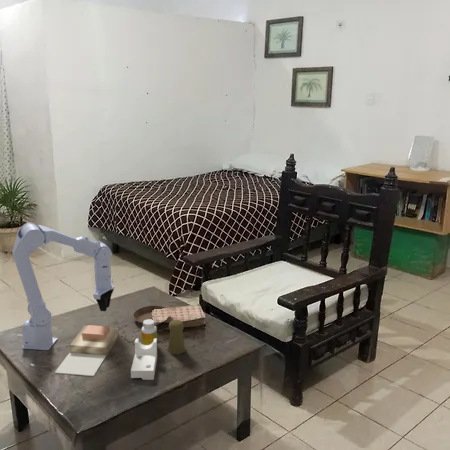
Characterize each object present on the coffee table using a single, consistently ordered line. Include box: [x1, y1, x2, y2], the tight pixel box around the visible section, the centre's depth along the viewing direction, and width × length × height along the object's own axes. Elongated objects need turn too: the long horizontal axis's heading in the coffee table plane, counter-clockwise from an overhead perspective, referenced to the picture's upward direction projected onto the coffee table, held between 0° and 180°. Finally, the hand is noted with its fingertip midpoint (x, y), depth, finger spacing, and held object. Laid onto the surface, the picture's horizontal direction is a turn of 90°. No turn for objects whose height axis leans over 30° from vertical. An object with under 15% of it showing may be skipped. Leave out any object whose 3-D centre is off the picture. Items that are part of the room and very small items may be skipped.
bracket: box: [130, 337, 158, 381], centre depth 162 cm, size 13×7×8 cm, turn 2°
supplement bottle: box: [140, 319, 158, 345], centre depth 174 cm, size 5×5×10 cm
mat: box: [54, 352, 107, 377], centre depth 164 cm, size 13×12×1 cm
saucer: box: [132, 305, 166, 326], centre depth 195 cm, size 15×15×3 cm
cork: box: [167, 319, 186, 355], centre depth 172 cm, size 6×6×11 cm
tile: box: [82, 324, 110, 340], centre depth 177 cm, size 8×6×2 cm
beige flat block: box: [69, 325, 120, 356], centre depth 176 cm, size 13×14×3 cm
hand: (104, 308), depth 185 cm, fingers open, 3 cm apart
